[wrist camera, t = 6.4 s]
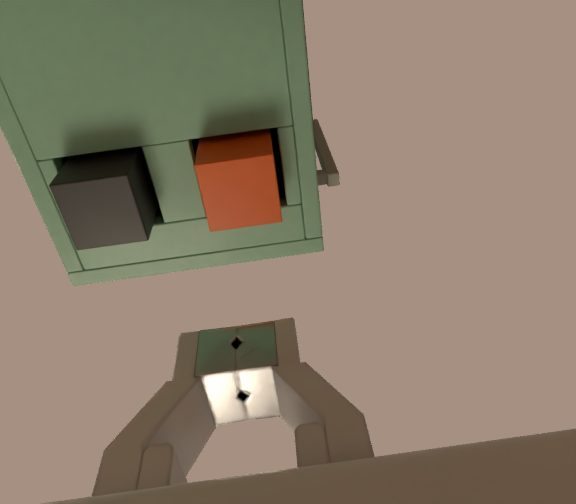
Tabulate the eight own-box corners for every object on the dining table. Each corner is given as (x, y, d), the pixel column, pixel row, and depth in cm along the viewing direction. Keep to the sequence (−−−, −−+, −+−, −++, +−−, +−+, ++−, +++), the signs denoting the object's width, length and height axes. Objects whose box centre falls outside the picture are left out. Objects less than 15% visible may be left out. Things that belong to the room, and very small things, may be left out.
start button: (193, 164, 18) (210, 232, 20) (273, 153, 18) (282, 222, 20) (199, 136, 21) (213, 198, 22) (269, 126, 21) (277, 189, 22)
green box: (-147, -191, 14) (72, 286, 23) (326, -256, 14) (351, 247, 23) (38, -136, 26) (131, 160, 36) (285, -169, 26) (312, 135, 36)
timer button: (47, 185, 18) (76, 251, 20) (127, 174, 18) (149, 241, 20) (70, 154, 21) (94, 214, 22) (141, 144, 21) (159, 206, 22)
